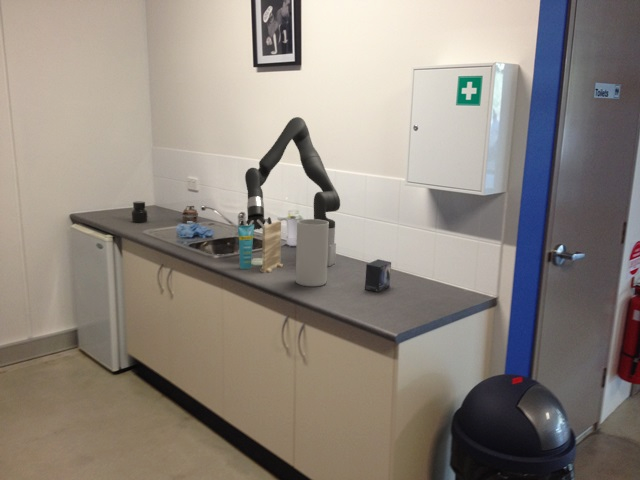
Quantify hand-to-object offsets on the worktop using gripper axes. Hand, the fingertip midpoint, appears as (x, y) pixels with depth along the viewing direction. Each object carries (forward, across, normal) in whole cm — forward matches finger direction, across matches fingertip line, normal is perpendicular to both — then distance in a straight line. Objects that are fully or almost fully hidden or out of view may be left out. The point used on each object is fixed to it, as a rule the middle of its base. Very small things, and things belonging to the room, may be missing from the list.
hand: (256, 240), depth 256 cm
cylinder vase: (+27, -24, +11) cm, 38 cm away
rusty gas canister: (-54, +55, -76) cm, 108 cm away
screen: (+13, -6, -2) cm, 15 cm away
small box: (+32, -50, +12) cm, 61 cm away
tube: (+13, +5, 0) cm, 14 cm away
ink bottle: (-54, +84, -69) cm, 121 cm away
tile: (+7, +1, -9) cm, 11 cm away
